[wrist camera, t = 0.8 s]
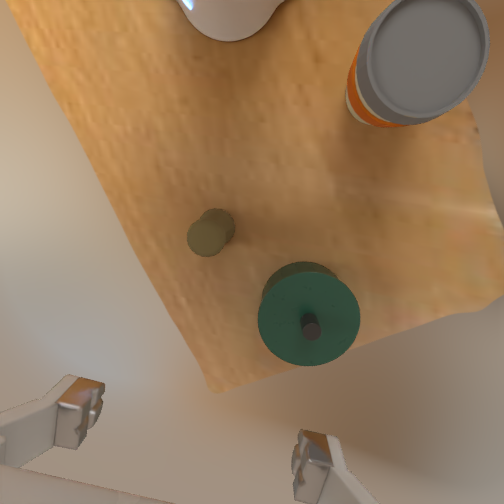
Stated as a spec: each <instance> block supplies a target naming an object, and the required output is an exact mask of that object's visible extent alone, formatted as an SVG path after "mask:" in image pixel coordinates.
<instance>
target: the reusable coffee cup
mask: <svg viewBox="0 0 504 504" xmlns="http://www.w3.org/2000/svg"><path fill="white" fill-rule="evenodd" d="M489 48H490V37H489V29H488V25H487V21H486V18H485V16H484V14H483V12H482V10H481V8H480V7H479V5H478V4H477V3H476V2H475V1H474V0H395V1H394V2H392V3H391V4H390V5H389V6H388V7H387V8H386V9H385V10H384V11H383V12H382V13H381V14H380V15H379V16H378V17H377V18H376V20H375V21H374V22H373V23H372V24H371V26H370V27H369V29H368V30H367V32H366V34H365V35H364V38H363V40H362V42H361V44H360V46H359V48H358V50H357V53H356V55H355V57H354V60H353V63H352V65H351V68H350V70H349V75H348V79H347V87H346V103H347V106H348V109H349V111H350V112H351V114H352V115H353V116H354V117H355V118H356V119H357V120H359V121H360V122H362V123H364V124H368V125H374V126H378V127H401V126H408V125H416V124H421V123H425V122H428V121H430V120H432V119H435V118H437V117H439V116H440V115H442V114H444V113H446V112H447V111H449V110H451V109H452V108H454V107H455V106H457V105H458V104H460V103H461V102H462V101H463V100H464V99H465V98H466V97H467V96H468V95H469V94H470V93H471V91H472V90H473V89H474V88H475V86H476V85H477V84H478V82H479V80H480V78H481V76H482V74H483V72H484V70H485V66H486V63H487V60H488V55H489Z"/></svg>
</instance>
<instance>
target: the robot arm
mask: <svg viewBox="0 0 504 504" xmlns="http://www.w3.org/2000/svg"><path fill="white" fill-rule="evenodd" d="M176 1H177V2H178V3H179V5H180V6H181V8H182V10H183V12H184V13H185V15H186V17H187V18H188V20H189V21H190V22H191V23H192V25H193V26H194V27H195V28H196V29H197V30H199V31H200V32H201V33H203V34H204V35H206V36H208V37H210V38H212V39H216V40H219V41H237V40H241V39H244V38H247V37H249V36H251V35H253V34H254V33H256V32H257V31H258V30H260V29H261V28H262V27H263V26H264V25H265V24H266V22H267V21H268V20H269V18H270V17H271V15H272V14H273V12H274V11H275V9H276V8H277V7H278V5H279V4H281V3H282V2H284V1H285V0H176ZM104 392H105V384H104V383H102V382H97V381H94V380H90V379H86V378H82V377H77V376H73V375H70V374H69V375H66V376H65V377H63V378H62V379H61V380H60V381H59V382H58V383H57V384H56V385H55V386H54V387H53V388H52V389H51V390H50V391H49V392H48V393H47V394H46V395H45V396H44V397H43V398H42V399H41V400H39V399H36V400H32V401H30V402H27V403H24V404H21V405H19V406H16V407H13V408H11V409H8V410H5V411H2V412H0V504H174V503H170V502H166V501H161V500H157V499H152V498H147V497H143V496H139V495H135V494H130V493H126V492H121V491H117V490H113V489H108V488H104V487H99V486H95V485H90V484H86V483H82V482H78V481H73V480H69V479H65V478H60V477H56V476H51V475H47V474H43V473H38V472H34V471H29V470H25V469H21V468H20V467H21V466H23V465H24V464H26V463H28V462H29V461H31V460H33V459H34V458H36V457H38V456H39V455H41V454H43V453H44V452H46V451H47V450H49V449H51V448H52V447H53V446H58V447H63V448H68V449H73V450H77V449H78V447H79V446H80V444H81V443H82V441H83V440H84V439H85V437H86V434H87V430H88V429H90V428H92V427H93V426H94V424H95V423H96V421H97V419H98V417H99V415H100V413H101V410H102V405H103V401H102V399H101V396H102V395H103V394H104ZM291 467H292V474H293V475H294V476H295V479H294V482H293V489H294V499H295V501H300V502H303V503H307V504H380V503H379V502H378V501H377V500H376V498H375V497H374V496H373V495H372V494H371V493H370V492H369V491H368V489H367V488H366V487H365V486H364V485H363V484H362V483H361V482H360V481H359V479H358V478H357V477H356V476H355V475H354V474H353V473H352V472H351V471H348V470H347V466H346V463H345V459H344V456H343V452H342V449H341V446H340V443H339V439H338V437H337V436H332V435H328V434H321V433H317V432H312V431H308V430H303V429H301V430H300V431H299V434H298V444H297V445H296V446H295V447H294V450H293V455H292V464H291Z"/></svg>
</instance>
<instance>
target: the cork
mask: <svg viewBox="0 0 504 504" xmlns="http://www.w3.org/2000/svg"><path fill="white" fill-rule="evenodd" d="M234 232H235V224H234V220H233V218H232V217H231V215H230V214H228V213H227V212H226V211H224V210H221V209H211V210H208V211H207V212H205V213H204V214H203V215H202V216H201V218H200V220H197V221H196V222H194V223H193V224H192V225H191V226H190V228H189V230H188V233H187V242H188V245H189V247H190V249H191V250H192V251H193V252H194V253H195V254H197V255H199V256H203V257H210V256H214V255H216V254H217V253H219V252H220V251H221V250H222V248H223V247H224V244H225V243H227V242H228V241H229V240H230V239H231V238H232V237H233V234H234Z"/></svg>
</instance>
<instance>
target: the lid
mask: <svg viewBox="0 0 504 504" xmlns="http://www.w3.org/2000/svg"><path fill="white" fill-rule="evenodd" d="M359 326H360V310H359V306H358V303H357V300H356V298H355V296H354V295H353V293H352V292H351V290H350V289H349V288H348V287H347V286H346V285H345V284H344V283H343V282H341V281H340V280H338V279H337V278H335V277H333V276H331V275H329V274H326V273H322V272H316V271H303V272H298V273H294V274H291V275H288V276H286V277H284V278H282V279H281V280H279V281H278V282H276V283H275V284H274V285H273V286H272V287H271V288H270V289H269V290H268V291H267V293H266V294H265V296H264V298H263V300H262V302H261V304H260V307H259V312H258V327H259V332H260V335H261V337H262V339H263V341H264V343H265V345H266V346H267V347H268V349H269V350H270V351H271V352H272V353H273V354H275V355H276V356H277V357H279V358H280V359H282V360H284V361H286V362H288V363H291V364H295V365H300V366H316V365H321V364H325V363H327V362H330V361H332V360H334V359H336V358H338V357H339V356H341V355H342V354H343V353H344V352H345V351H346V350H347V349H348V348H349V347H350V346H351V345H352V343H353V342H354V340H355V338H356V336H357V334H358V330H359Z"/></svg>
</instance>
